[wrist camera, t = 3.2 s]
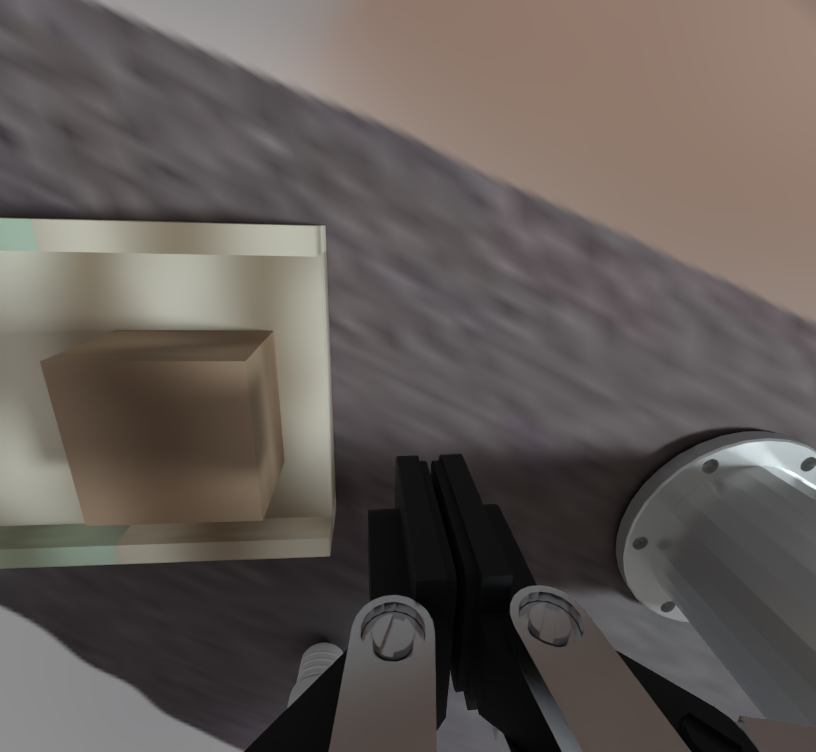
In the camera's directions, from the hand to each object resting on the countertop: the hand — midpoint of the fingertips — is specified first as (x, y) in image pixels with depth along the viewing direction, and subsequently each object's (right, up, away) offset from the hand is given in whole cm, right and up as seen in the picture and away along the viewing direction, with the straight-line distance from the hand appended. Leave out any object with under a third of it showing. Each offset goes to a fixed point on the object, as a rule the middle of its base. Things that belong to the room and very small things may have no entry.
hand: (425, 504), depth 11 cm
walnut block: (-9, +2, +7) cm, 11 cm away
